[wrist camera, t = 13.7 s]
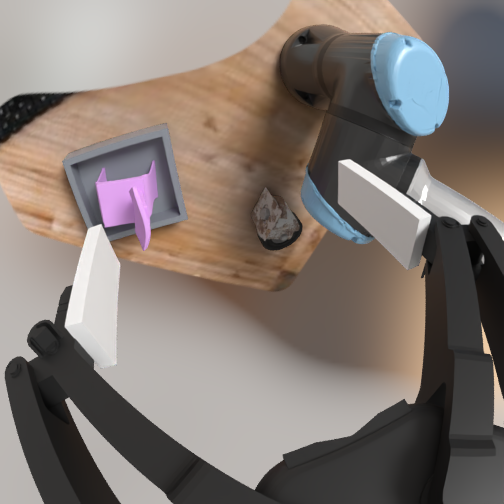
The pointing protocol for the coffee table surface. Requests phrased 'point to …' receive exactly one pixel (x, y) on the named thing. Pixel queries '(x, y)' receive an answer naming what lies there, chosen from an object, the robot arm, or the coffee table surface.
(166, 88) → the coffee table surface
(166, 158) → the tray
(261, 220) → the grey brown rock
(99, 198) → the toy chair
